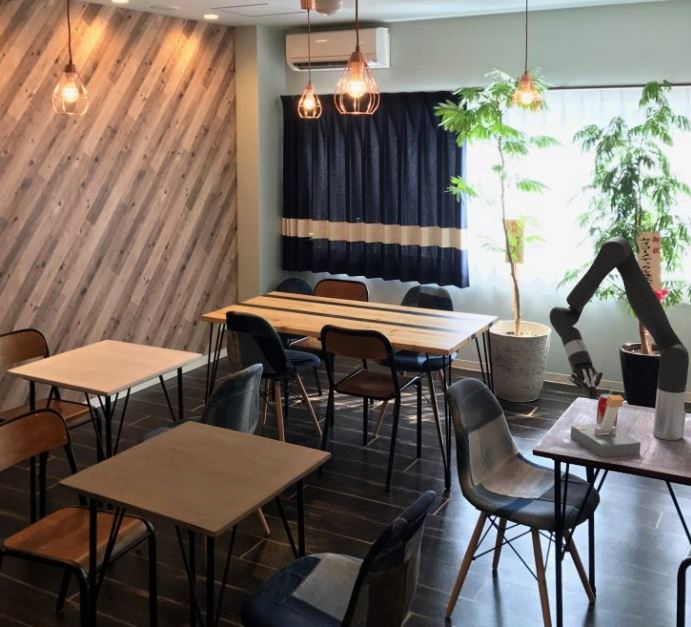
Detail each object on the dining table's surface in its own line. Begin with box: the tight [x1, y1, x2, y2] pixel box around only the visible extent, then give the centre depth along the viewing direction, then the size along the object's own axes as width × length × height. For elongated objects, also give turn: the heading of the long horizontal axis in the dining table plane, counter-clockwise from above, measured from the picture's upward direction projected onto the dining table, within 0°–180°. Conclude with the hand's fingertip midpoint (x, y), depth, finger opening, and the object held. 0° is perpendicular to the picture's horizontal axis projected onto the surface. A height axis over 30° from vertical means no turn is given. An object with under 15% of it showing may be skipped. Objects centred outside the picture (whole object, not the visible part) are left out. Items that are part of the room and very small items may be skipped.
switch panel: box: [570, 423, 642, 458], centre depth 274 cm, size 14×20×6 cm
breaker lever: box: [600, 394, 625, 433], centre depth 271 cm, size 4×2×15 cm, turn 105°
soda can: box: [596, 393, 619, 428], centre depth 292 cm, size 7×7×12 cm
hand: (594, 398), depth 279 cm, fingers closed
